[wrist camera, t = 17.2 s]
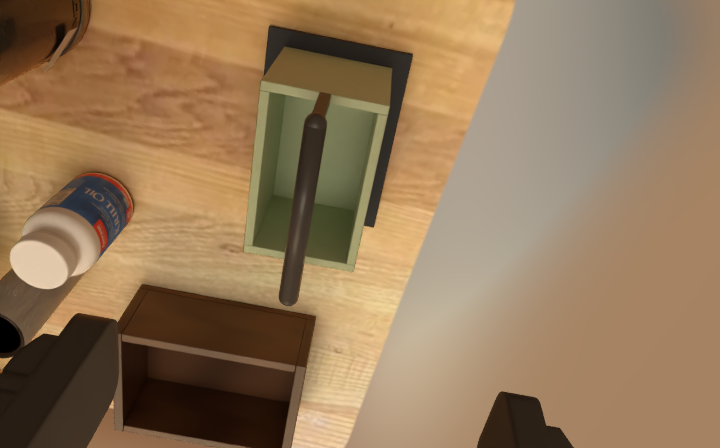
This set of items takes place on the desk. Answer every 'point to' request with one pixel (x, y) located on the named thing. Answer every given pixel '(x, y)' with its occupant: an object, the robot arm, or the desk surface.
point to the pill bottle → (71, 230)
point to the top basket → (314, 161)
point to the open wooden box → (210, 370)
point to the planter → (26, 310)
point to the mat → (360, 53)
